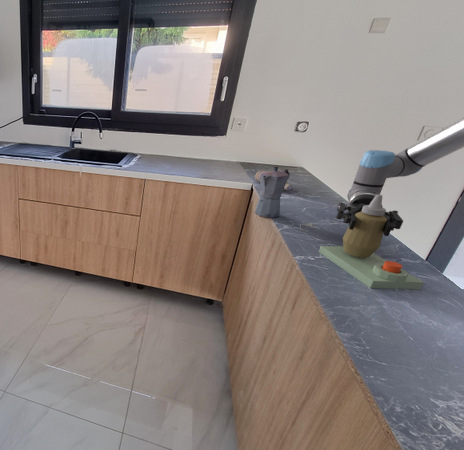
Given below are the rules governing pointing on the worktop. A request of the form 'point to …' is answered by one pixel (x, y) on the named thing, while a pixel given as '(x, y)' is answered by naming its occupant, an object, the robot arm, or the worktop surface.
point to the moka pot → (271, 192)
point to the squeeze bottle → (366, 230)
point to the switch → (392, 267)
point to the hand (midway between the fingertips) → (370, 228)
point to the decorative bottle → (258, 174)
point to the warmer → (370, 270)
